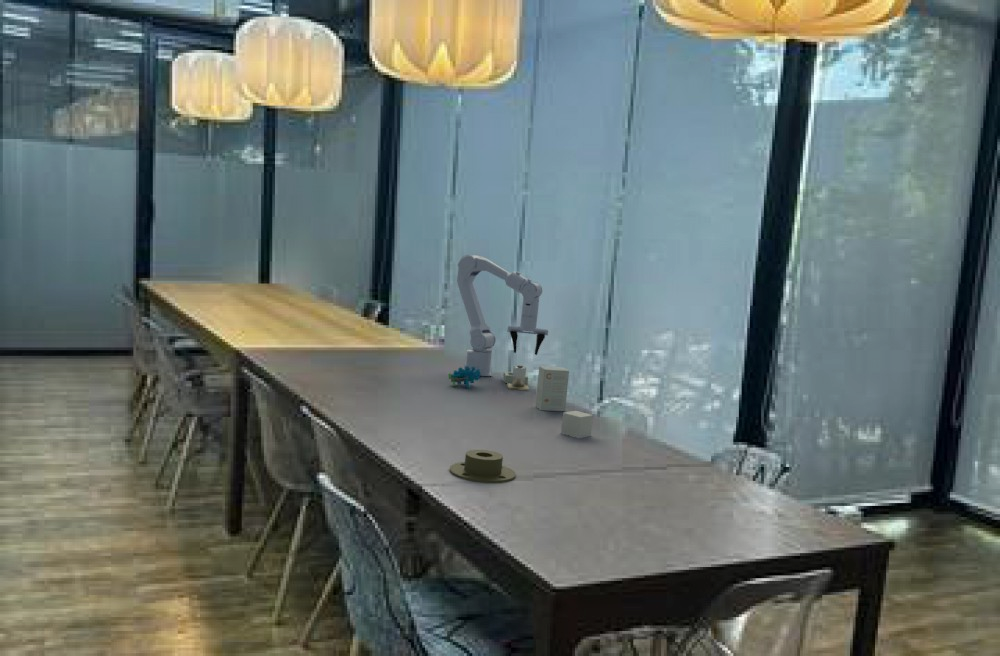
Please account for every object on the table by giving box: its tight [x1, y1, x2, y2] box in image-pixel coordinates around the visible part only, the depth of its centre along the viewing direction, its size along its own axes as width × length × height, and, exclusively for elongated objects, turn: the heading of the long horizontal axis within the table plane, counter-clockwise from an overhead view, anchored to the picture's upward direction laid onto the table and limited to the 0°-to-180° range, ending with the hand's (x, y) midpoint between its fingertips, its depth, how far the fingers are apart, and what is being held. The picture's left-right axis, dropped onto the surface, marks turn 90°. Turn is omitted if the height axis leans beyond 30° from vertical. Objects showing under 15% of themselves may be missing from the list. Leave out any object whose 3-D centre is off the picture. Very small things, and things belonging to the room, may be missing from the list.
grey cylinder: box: [512, 364, 527, 387], centre depth 315 cm, size 4×4×7 cm
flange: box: [449, 449, 517, 484], centre depth 206 cm, size 5×15×15 cm
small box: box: [535, 365, 570, 412], centre depth 284 cm, size 8×6×13 cm
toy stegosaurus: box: [447, 366, 482, 389], centre depth 306 cm, size 11×6×10 cm
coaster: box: [506, 383, 530, 391], centre depth 315 cm, size 7×7×1 cm
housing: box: [502, 371, 529, 386], centre depth 324 cm, size 8×8×3 cm
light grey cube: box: [560, 410, 594, 439], centre depth 253 cm, size 6×6×6 cm
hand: (525, 353), depth 327 cm, fingers open, 7 cm apart
